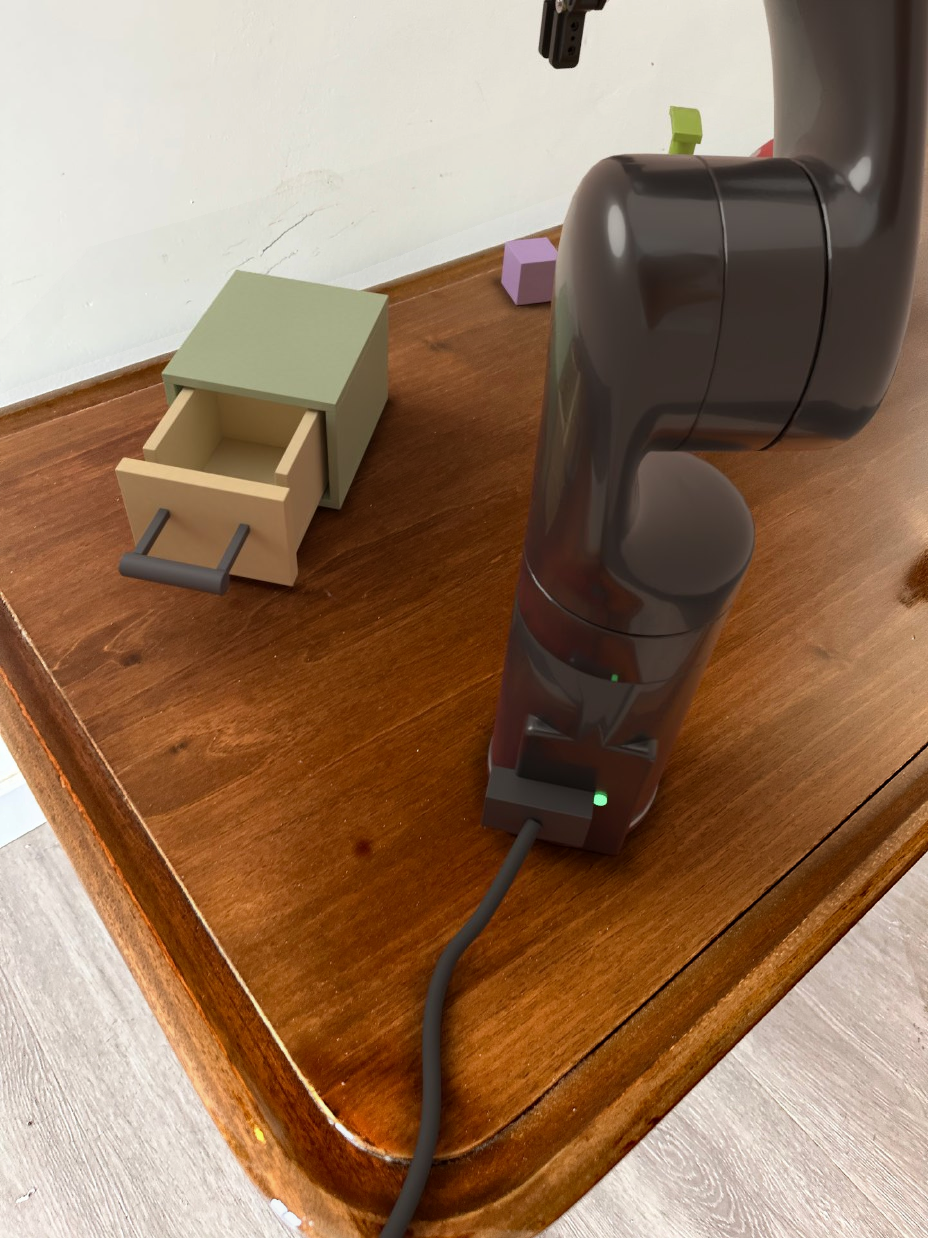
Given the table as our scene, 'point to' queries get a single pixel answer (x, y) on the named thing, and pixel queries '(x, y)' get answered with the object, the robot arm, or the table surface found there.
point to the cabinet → (295, 358)
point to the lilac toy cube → (529, 270)
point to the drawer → (223, 491)
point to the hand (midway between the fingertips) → (557, 60)
